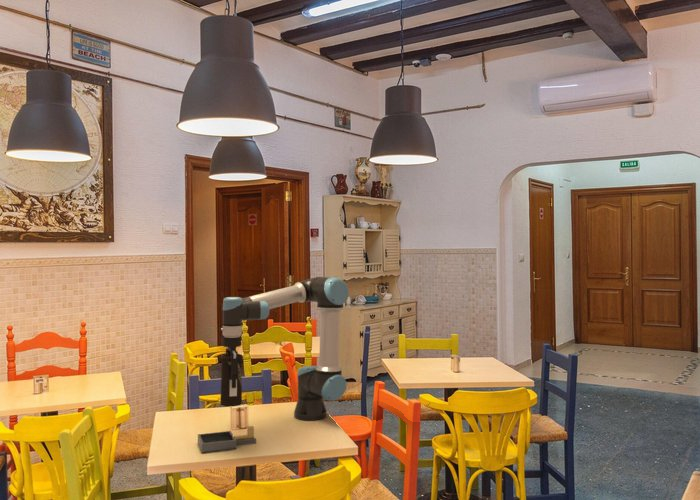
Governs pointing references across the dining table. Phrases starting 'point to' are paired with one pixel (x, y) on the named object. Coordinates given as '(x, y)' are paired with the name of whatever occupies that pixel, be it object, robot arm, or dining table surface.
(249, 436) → the tan block
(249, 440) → the pin rail
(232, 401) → the container
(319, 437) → the dining table surface
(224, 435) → the dock cradle
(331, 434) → the dining table surface
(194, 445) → the dining table surface
